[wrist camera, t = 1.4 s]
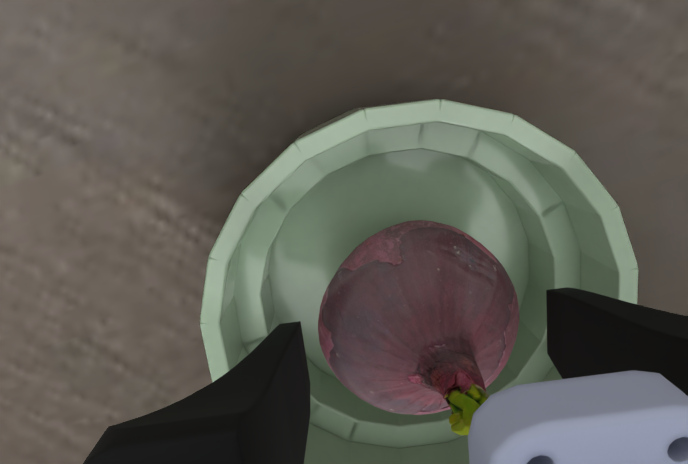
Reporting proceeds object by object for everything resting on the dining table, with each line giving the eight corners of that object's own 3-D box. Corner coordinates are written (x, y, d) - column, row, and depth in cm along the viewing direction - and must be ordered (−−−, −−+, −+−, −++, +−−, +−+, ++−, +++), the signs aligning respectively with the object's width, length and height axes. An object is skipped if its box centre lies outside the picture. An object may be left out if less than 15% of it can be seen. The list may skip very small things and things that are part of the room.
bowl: (561, 395, 21) (631, 481, 16) (262, 433, 21) (243, 530, 16) (559, 82, 18) (646, 72, 13) (204, 127, 18) (157, 134, 13)
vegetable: (504, 238, 19) (693, 377, 9) (431, 368, 20) (528, 610, 10) (364, 173, 18) (406, 249, 8) (298, 312, 19) (267, 520, 10)
